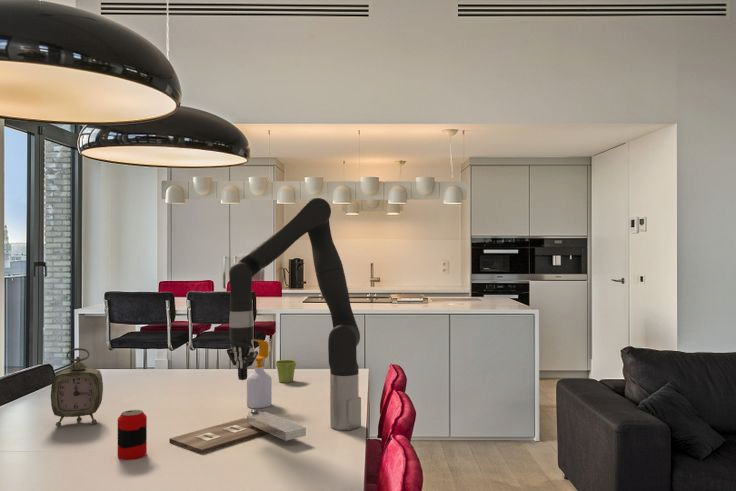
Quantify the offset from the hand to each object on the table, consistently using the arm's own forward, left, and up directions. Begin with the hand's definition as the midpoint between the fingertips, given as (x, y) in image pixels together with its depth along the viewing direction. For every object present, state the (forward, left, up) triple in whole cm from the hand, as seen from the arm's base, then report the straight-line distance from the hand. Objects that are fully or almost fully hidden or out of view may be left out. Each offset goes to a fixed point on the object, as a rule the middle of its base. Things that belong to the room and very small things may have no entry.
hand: (242, 379), depth 190 cm
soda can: (+6, +34, -16) cm, 38 cm away
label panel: (0, +7, -16) cm, 18 cm away
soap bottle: (+20, -24, -16) cm, 35 cm away
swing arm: (-11, -3, -14) cm, 18 cm away
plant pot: (+42, -58, -17) cm, 73 cm away
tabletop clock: (+49, +29, -16) cm, 59 cm away
